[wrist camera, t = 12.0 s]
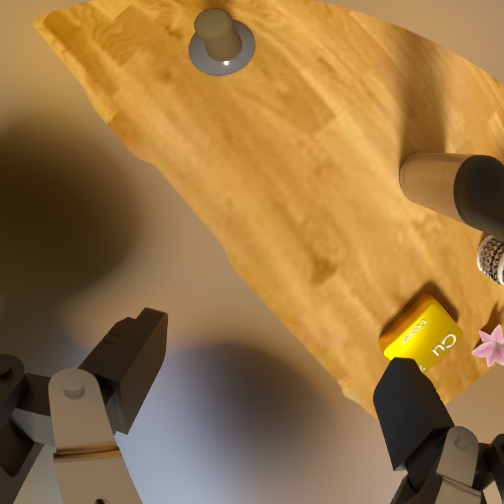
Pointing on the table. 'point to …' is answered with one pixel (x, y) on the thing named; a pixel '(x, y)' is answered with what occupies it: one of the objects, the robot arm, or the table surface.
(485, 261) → the decorative candle
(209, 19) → the olive game pawn
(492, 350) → the lily
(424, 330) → the element tile
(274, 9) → the table surface
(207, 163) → the table surface
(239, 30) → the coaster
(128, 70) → the table surface
